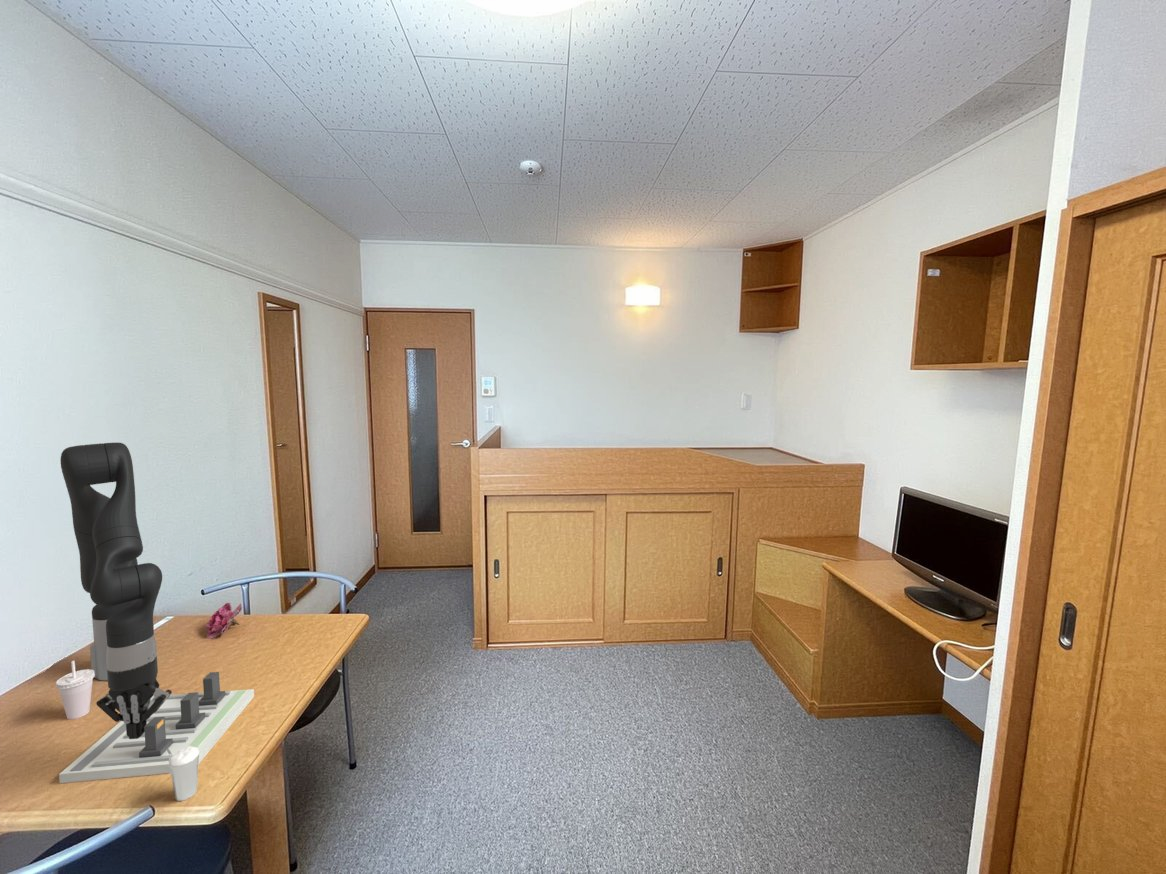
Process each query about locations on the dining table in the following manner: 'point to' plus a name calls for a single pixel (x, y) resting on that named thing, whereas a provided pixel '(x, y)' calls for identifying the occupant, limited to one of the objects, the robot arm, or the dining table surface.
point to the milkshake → (184, 772)
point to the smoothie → (76, 692)
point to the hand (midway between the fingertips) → (137, 736)
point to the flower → (222, 620)
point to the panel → (185, 722)
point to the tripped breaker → (155, 738)
